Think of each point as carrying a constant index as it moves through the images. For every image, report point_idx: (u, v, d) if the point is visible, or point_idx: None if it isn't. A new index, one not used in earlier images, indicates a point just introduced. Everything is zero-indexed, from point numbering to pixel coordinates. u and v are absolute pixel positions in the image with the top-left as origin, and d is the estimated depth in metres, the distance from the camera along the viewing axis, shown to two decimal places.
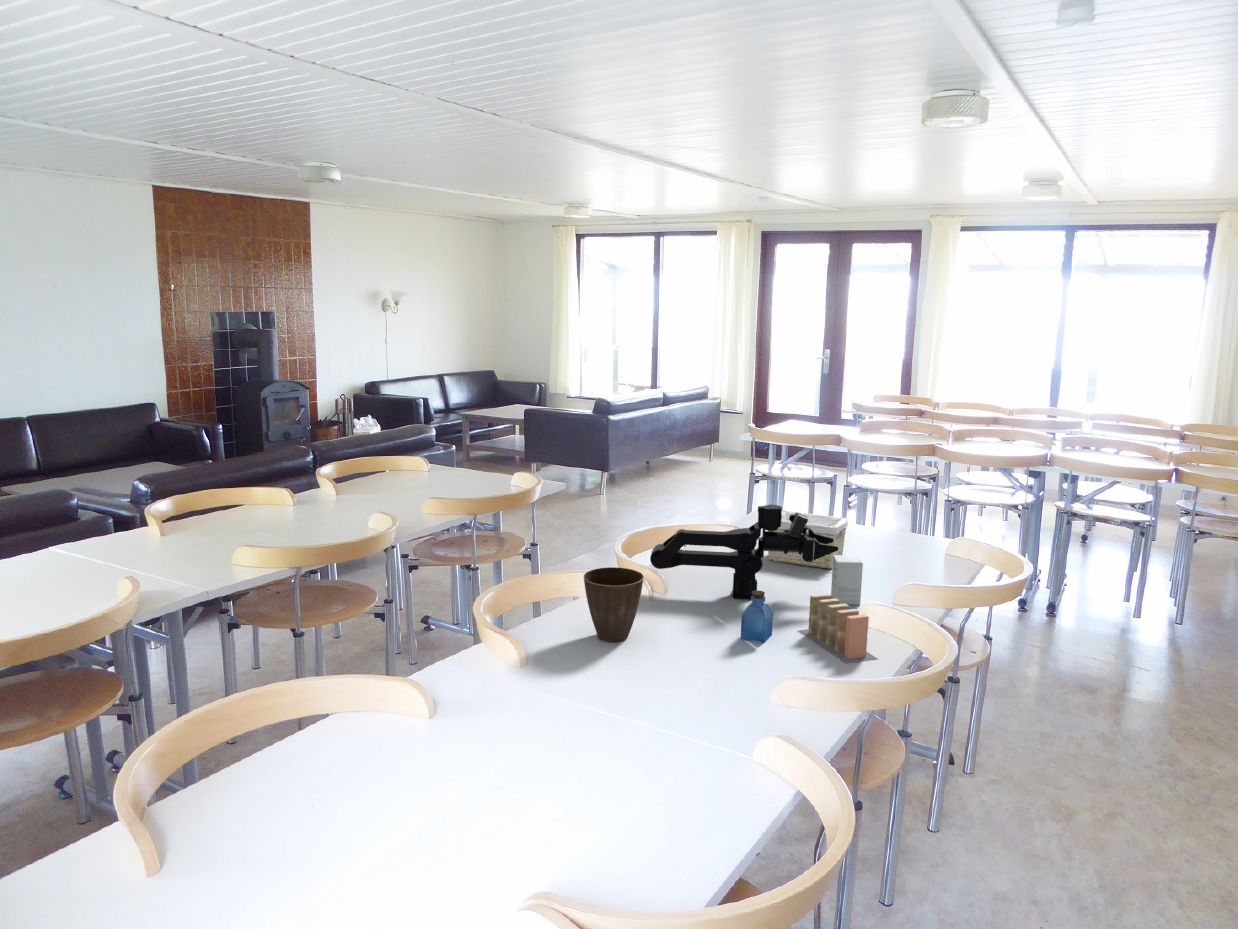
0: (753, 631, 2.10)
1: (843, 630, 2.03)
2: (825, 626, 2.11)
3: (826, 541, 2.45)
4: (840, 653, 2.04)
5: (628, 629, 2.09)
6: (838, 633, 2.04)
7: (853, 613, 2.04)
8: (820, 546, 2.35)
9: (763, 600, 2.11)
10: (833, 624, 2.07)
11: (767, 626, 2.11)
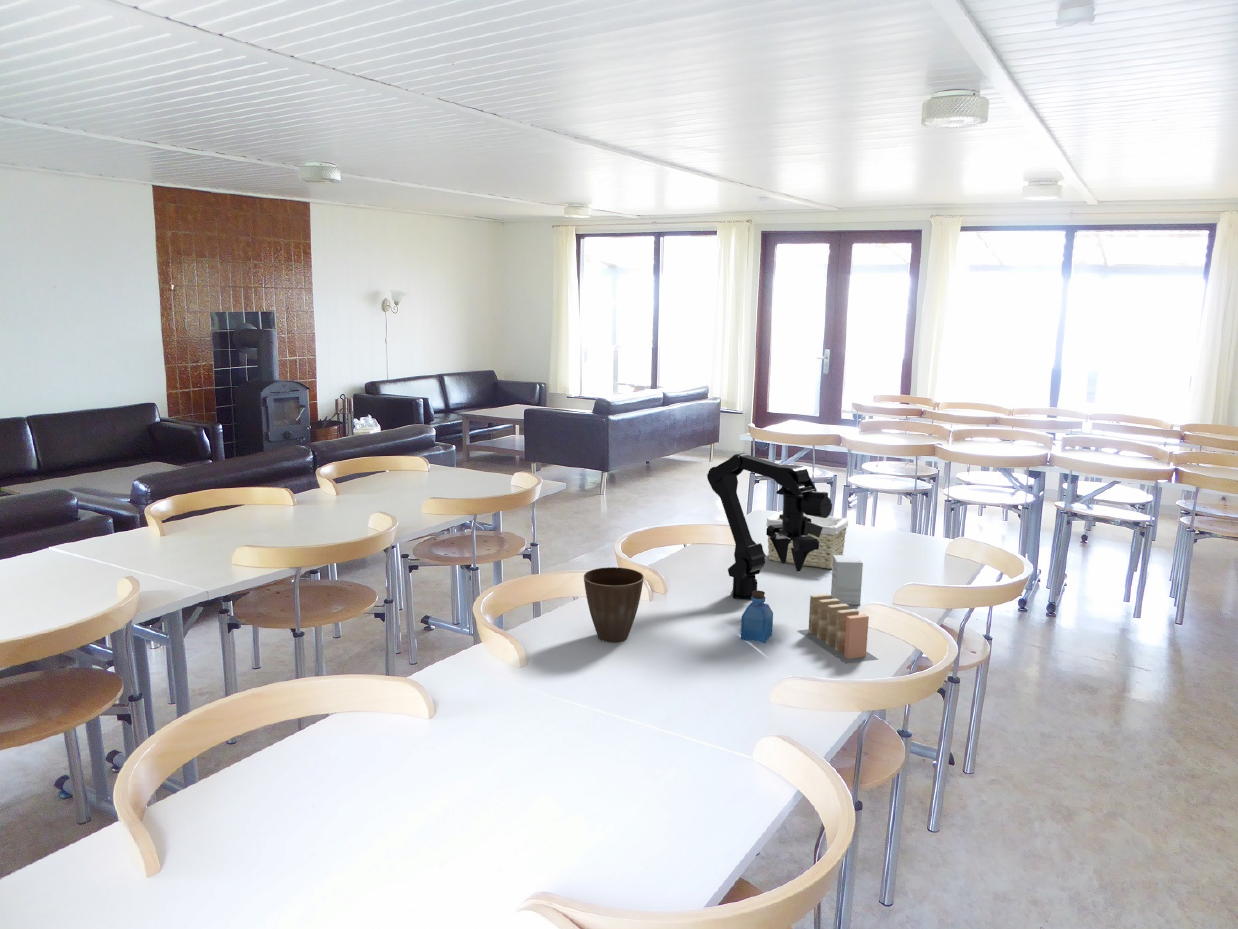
0: (753, 631, 2.10)
1: (843, 630, 2.03)
2: (825, 626, 2.11)
3: (782, 556, 2.36)
4: (840, 653, 2.04)
5: (628, 629, 2.09)
6: (838, 633, 2.04)
7: (853, 613, 2.04)
8: (804, 554, 2.27)
9: (763, 600, 2.11)
10: (833, 624, 2.07)
11: (767, 626, 2.11)
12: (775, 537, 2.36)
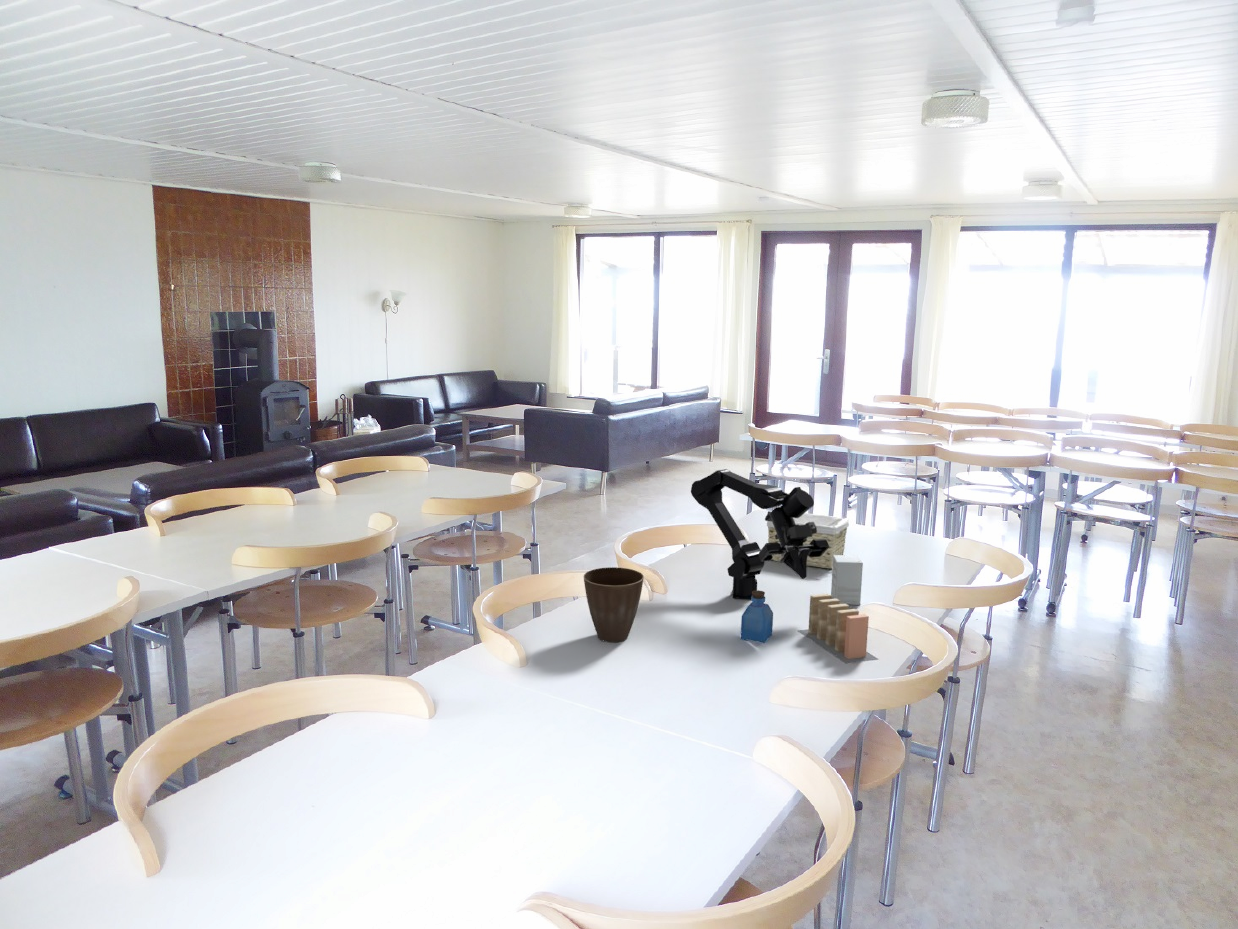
0: (753, 631, 2.10)
1: (843, 630, 2.03)
2: (825, 626, 2.11)
3: None
4: (840, 653, 2.04)
5: (628, 629, 2.09)
6: (838, 633, 2.04)
7: (853, 613, 2.04)
8: (793, 560, 2.24)
9: (763, 600, 2.11)
10: (833, 624, 2.07)
11: (767, 626, 2.11)
12: None
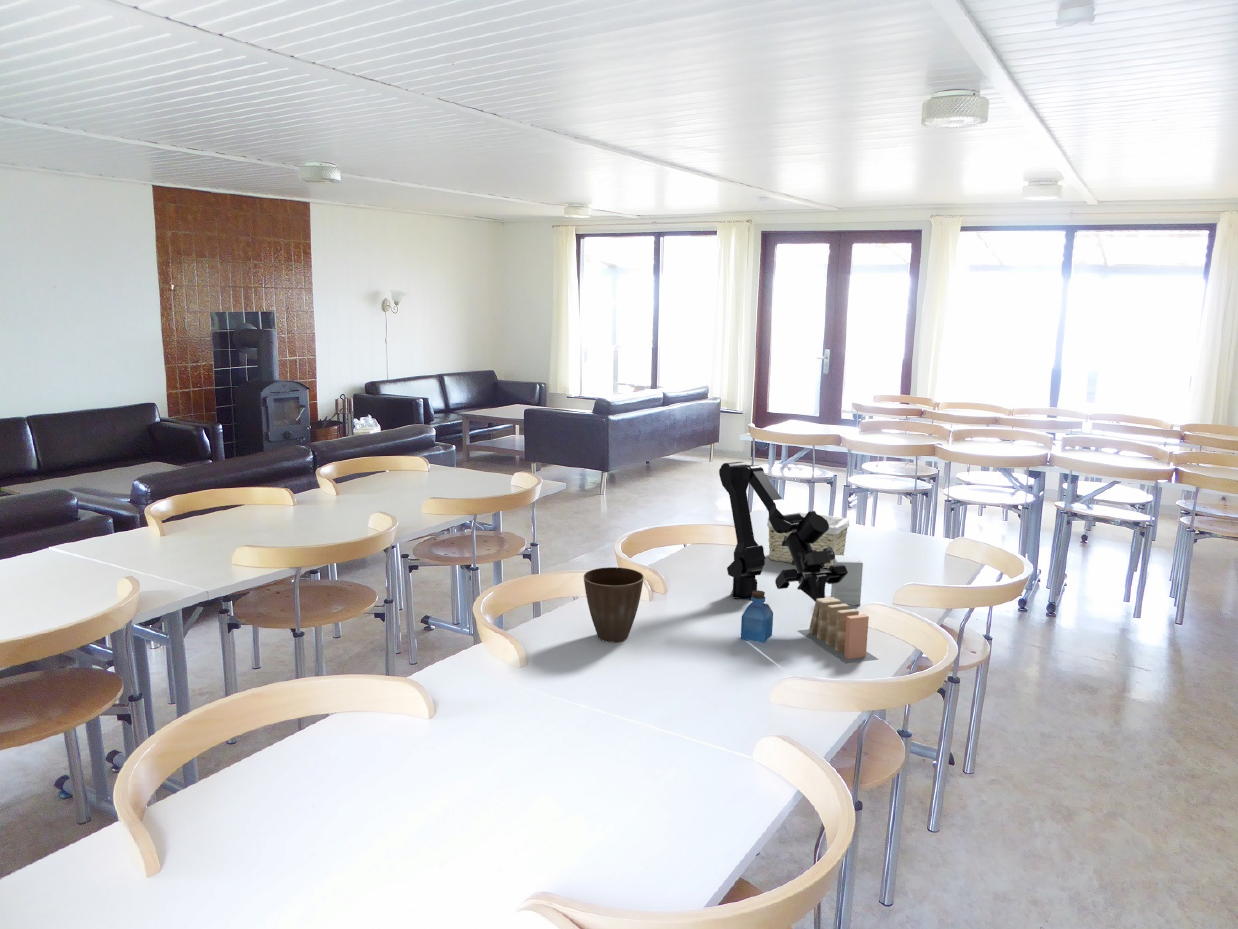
0: (753, 631, 2.10)
1: (843, 630, 2.03)
2: (825, 626, 2.11)
3: None
4: (840, 653, 2.04)
5: (628, 629, 2.09)
6: (838, 633, 2.04)
7: (853, 613, 2.04)
8: (811, 587, 2.16)
9: (763, 600, 2.11)
10: (833, 624, 2.07)
11: (767, 626, 2.11)
12: None
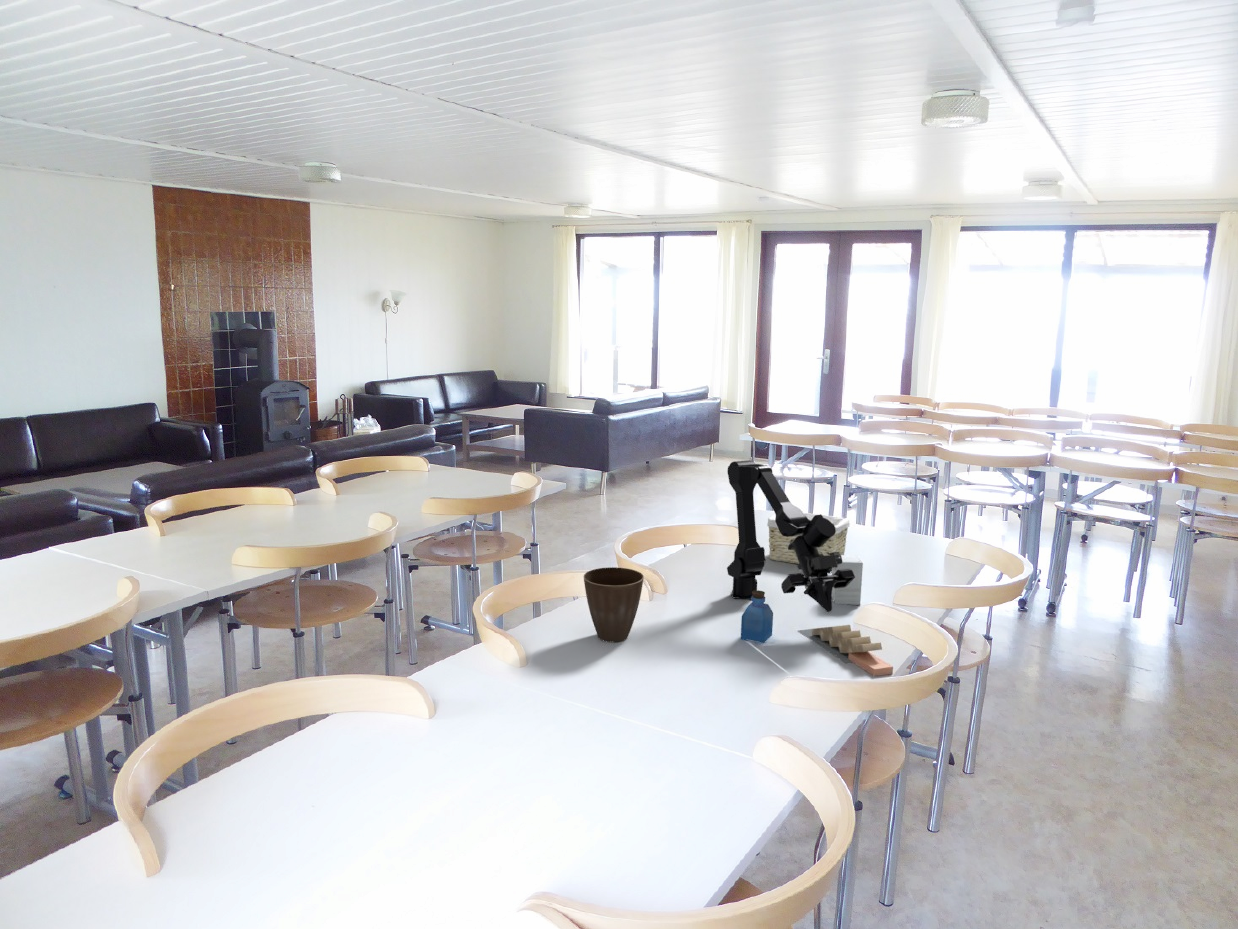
0: (753, 631, 2.10)
1: None
2: None
3: None
4: (840, 653, 2.04)
5: (628, 629, 2.09)
6: (850, 650, 1.99)
7: None
8: (818, 592, 2.13)
9: (763, 600, 2.11)
10: (845, 645, 2.02)
11: (767, 626, 2.11)
12: None
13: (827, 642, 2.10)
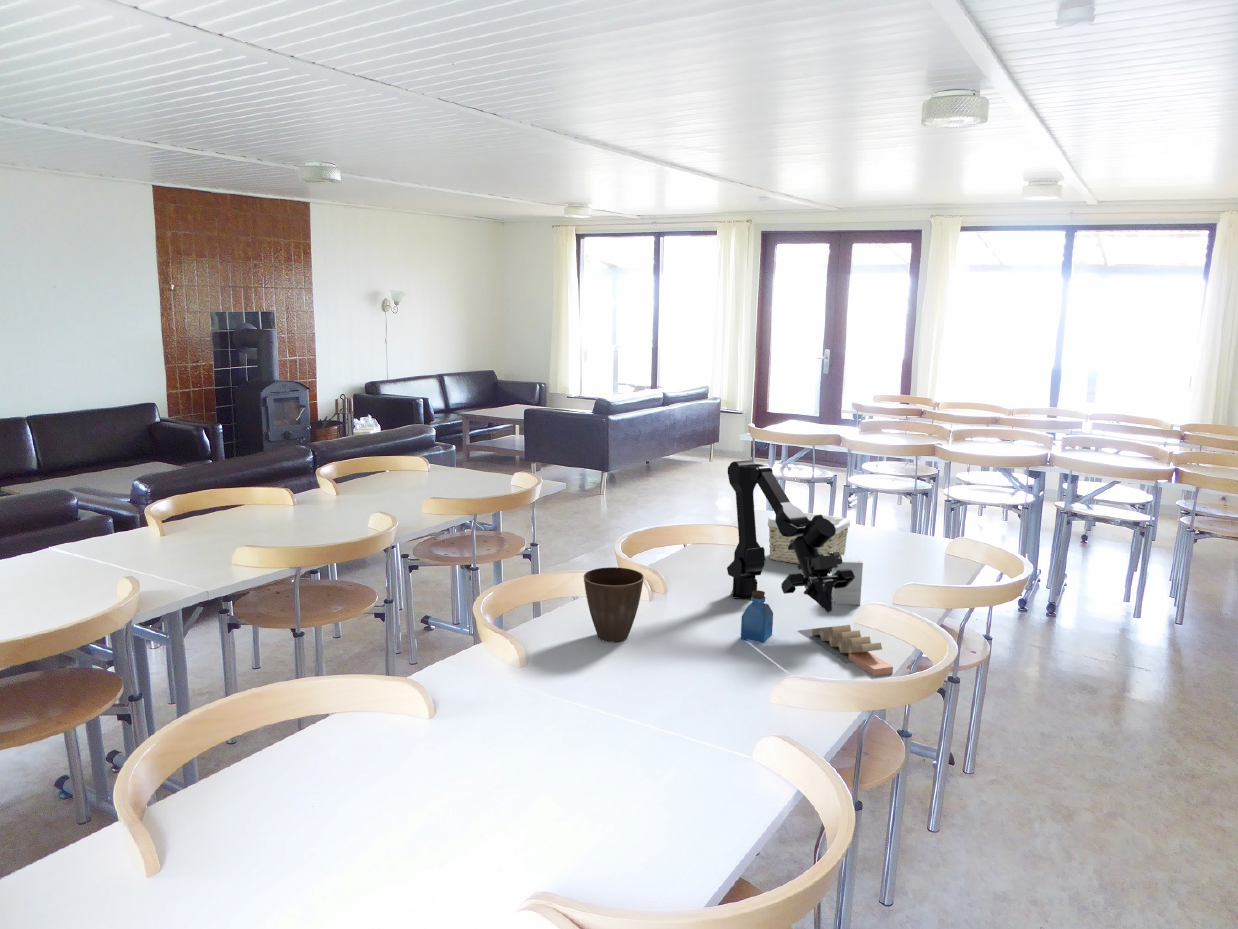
0: (753, 631, 2.10)
1: None
2: None
3: None
4: (840, 653, 2.04)
5: (628, 629, 2.09)
6: (850, 650, 1.99)
7: None
8: (818, 592, 2.13)
9: (763, 600, 2.11)
10: (845, 645, 2.02)
11: (767, 626, 2.11)
12: None
13: (827, 642, 2.10)
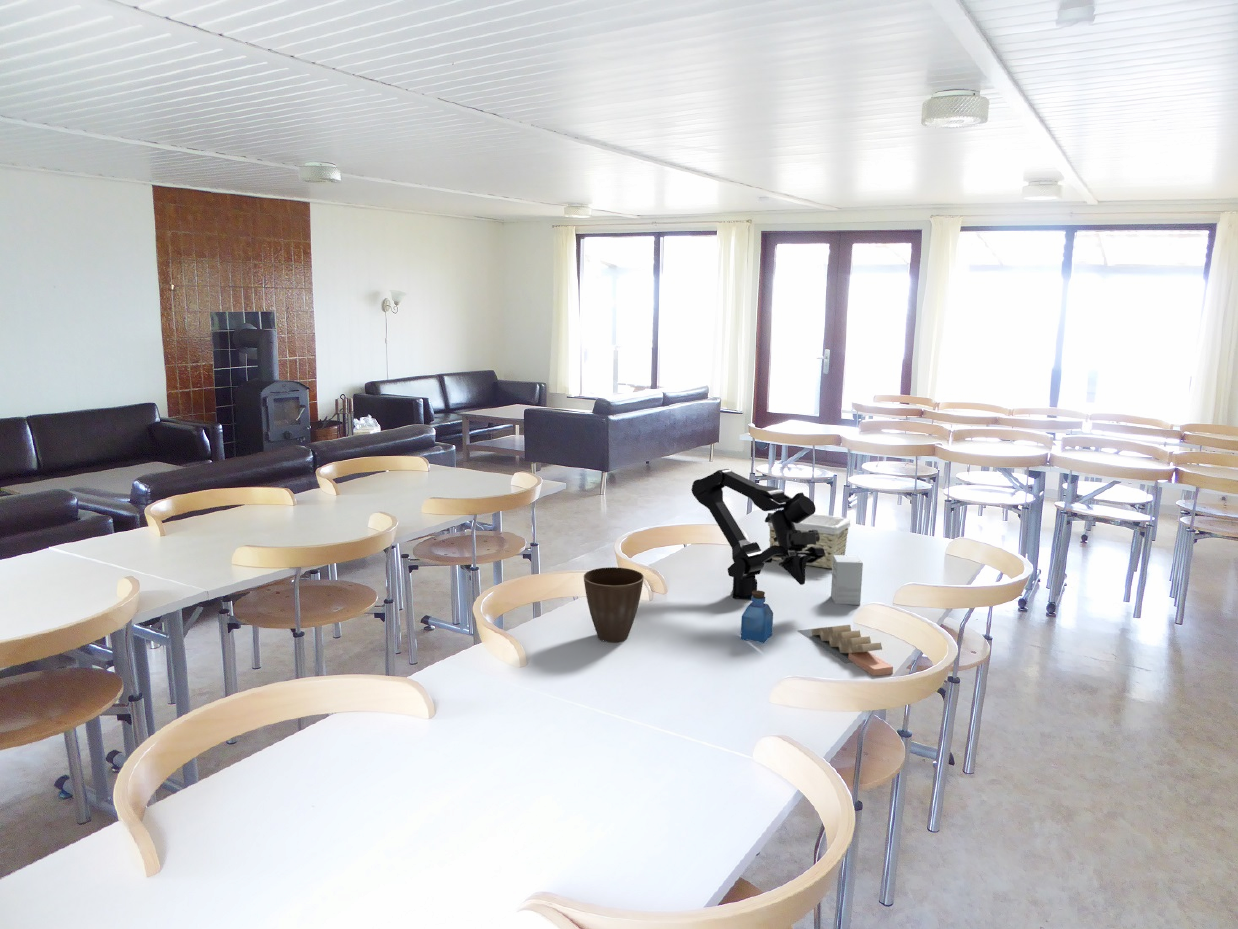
0: (753, 631, 2.10)
1: None
2: None
3: None
4: (840, 653, 2.04)
5: (628, 629, 2.09)
6: (850, 650, 1.99)
7: None
8: (794, 565, 2.25)
9: (763, 600, 2.11)
10: (845, 645, 2.02)
11: (767, 626, 2.11)
12: None
13: (827, 642, 2.10)
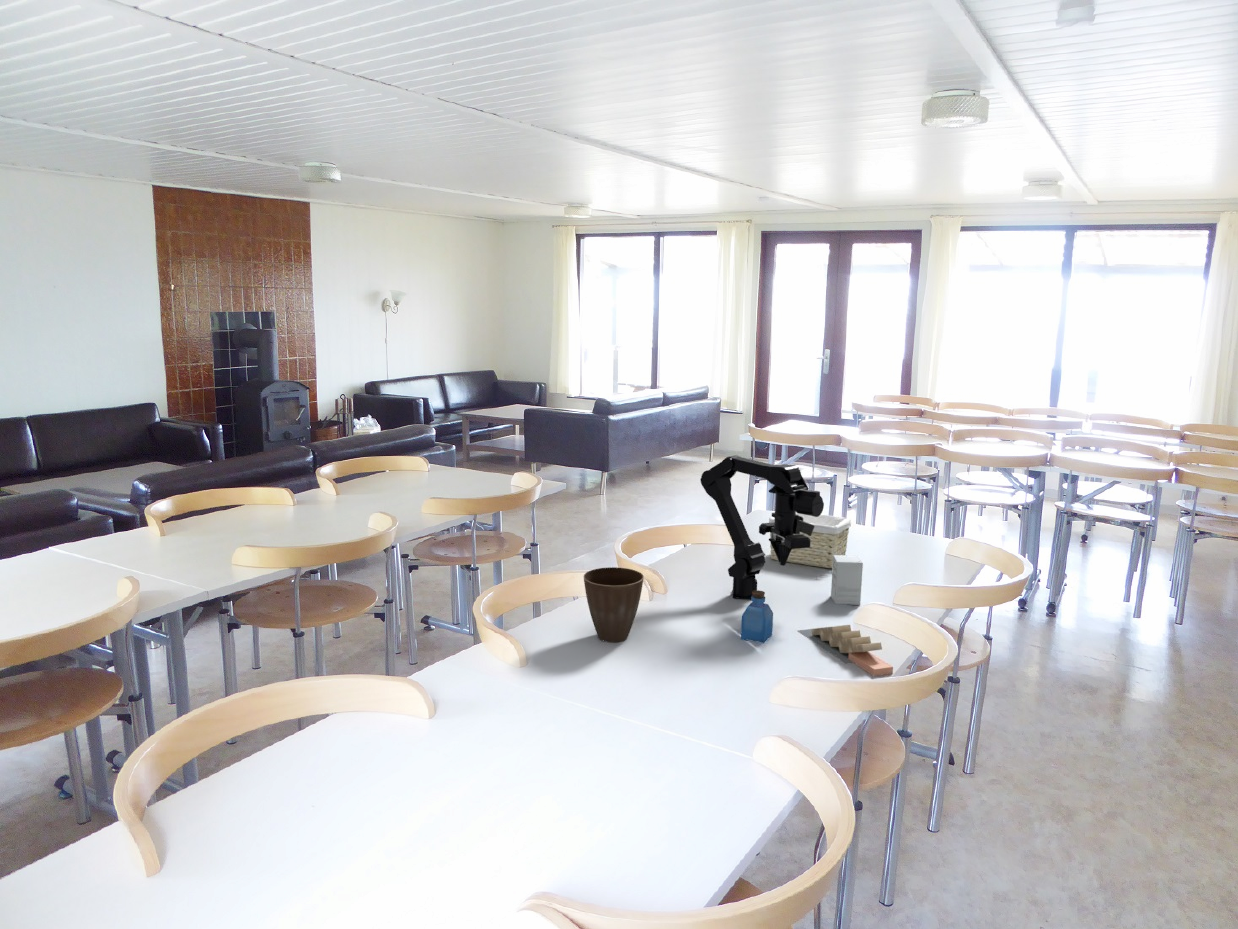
0: (753, 631, 2.10)
1: None
2: None
3: None
4: (840, 653, 2.04)
5: (628, 629, 2.09)
6: (850, 650, 1.99)
7: None
8: (788, 549, 2.33)
9: (763, 600, 2.11)
10: (845, 645, 2.02)
11: (767, 626, 2.11)
12: (774, 538, 2.35)
13: (827, 642, 2.10)
